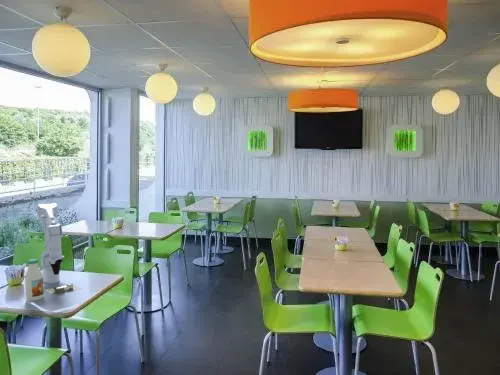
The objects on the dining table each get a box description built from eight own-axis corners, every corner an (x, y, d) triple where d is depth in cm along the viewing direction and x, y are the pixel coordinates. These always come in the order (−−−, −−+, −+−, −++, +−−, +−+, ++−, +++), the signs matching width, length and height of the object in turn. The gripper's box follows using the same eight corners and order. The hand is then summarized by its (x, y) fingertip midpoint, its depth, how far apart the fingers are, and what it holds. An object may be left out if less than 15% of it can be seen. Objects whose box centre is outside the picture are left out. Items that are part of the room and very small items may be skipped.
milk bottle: (25, 303, 206) (23, 262, 204) (26, 298, 213) (24, 258, 211) (43, 301, 209) (41, 260, 207) (44, 296, 216) (42, 257, 215)
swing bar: (71, 287, 225) (71, 281, 225) (74, 289, 223) (74, 283, 223) (51, 292, 218) (51, 286, 218) (54, 293, 216) (54, 287, 215)
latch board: (44, 292, 223) (44, 285, 223) (71, 285, 233) (70, 279, 233) (55, 297, 214) (54, 290, 214) (82, 290, 224) (82, 283, 224)
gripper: (60, 250, 215) (61, 277, 216) (66, 244, 229) (67, 270, 230) (45, 251, 213) (46, 278, 214) (52, 245, 228) (53, 270, 229)
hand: (56, 274), depth 222 cm, fingers closed
